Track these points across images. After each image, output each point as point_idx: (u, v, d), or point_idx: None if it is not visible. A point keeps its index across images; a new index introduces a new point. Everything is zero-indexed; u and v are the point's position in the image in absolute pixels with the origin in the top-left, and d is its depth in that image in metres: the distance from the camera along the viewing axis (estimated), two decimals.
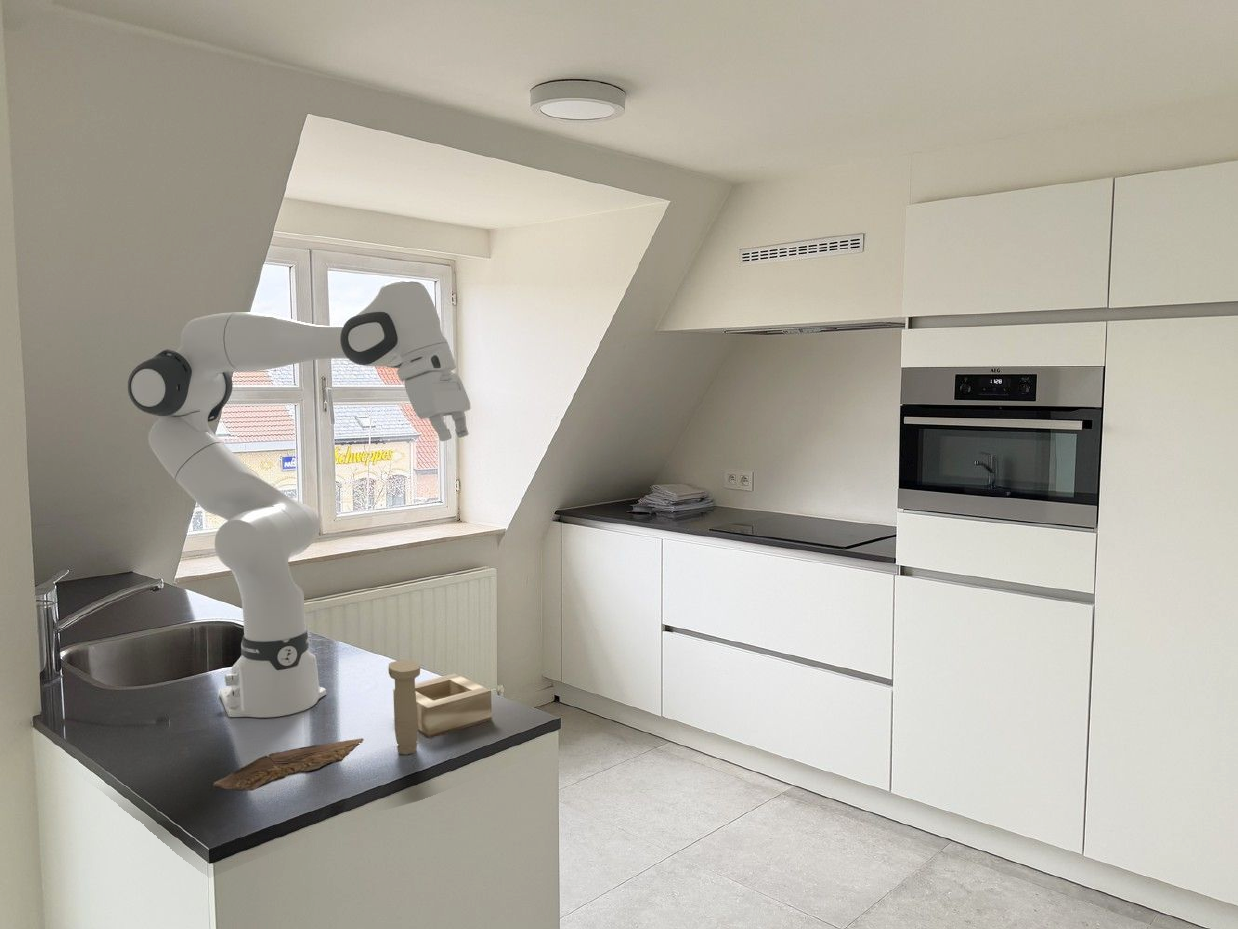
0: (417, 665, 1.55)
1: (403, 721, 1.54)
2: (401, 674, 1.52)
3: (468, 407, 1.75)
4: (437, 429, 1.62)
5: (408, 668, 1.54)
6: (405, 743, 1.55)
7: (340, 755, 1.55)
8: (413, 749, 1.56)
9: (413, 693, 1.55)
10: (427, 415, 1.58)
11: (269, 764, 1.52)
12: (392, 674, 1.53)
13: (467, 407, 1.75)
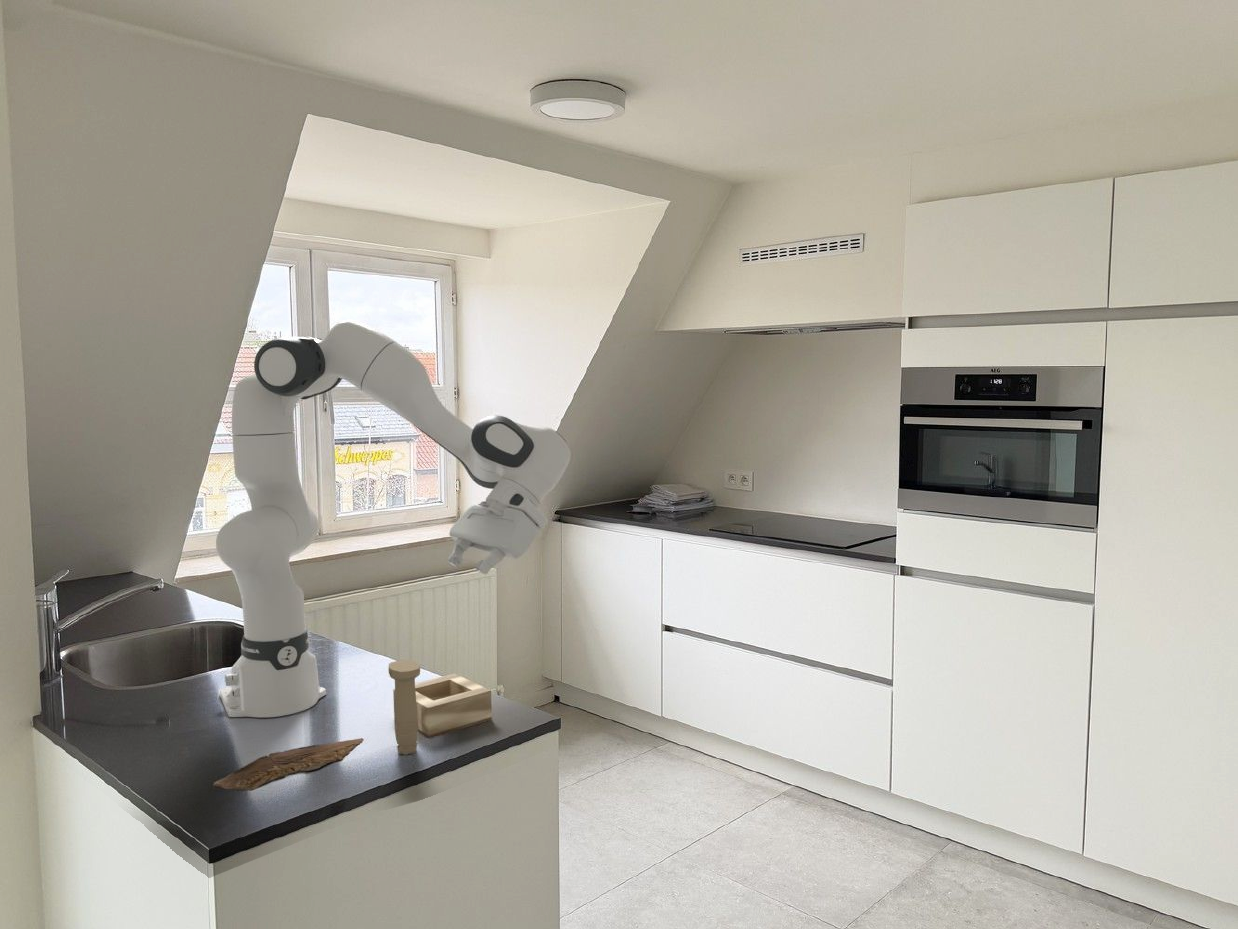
0: (417, 665, 1.55)
1: (404, 721, 1.54)
2: (401, 674, 1.52)
3: None
4: (489, 560, 1.58)
5: (408, 668, 1.54)
6: (405, 743, 1.55)
7: (340, 755, 1.55)
8: (413, 749, 1.56)
9: (413, 693, 1.55)
10: (512, 553, 1.56)
11: (269, 764, 1.52)
12: (392, 674, 1.53)
13: None
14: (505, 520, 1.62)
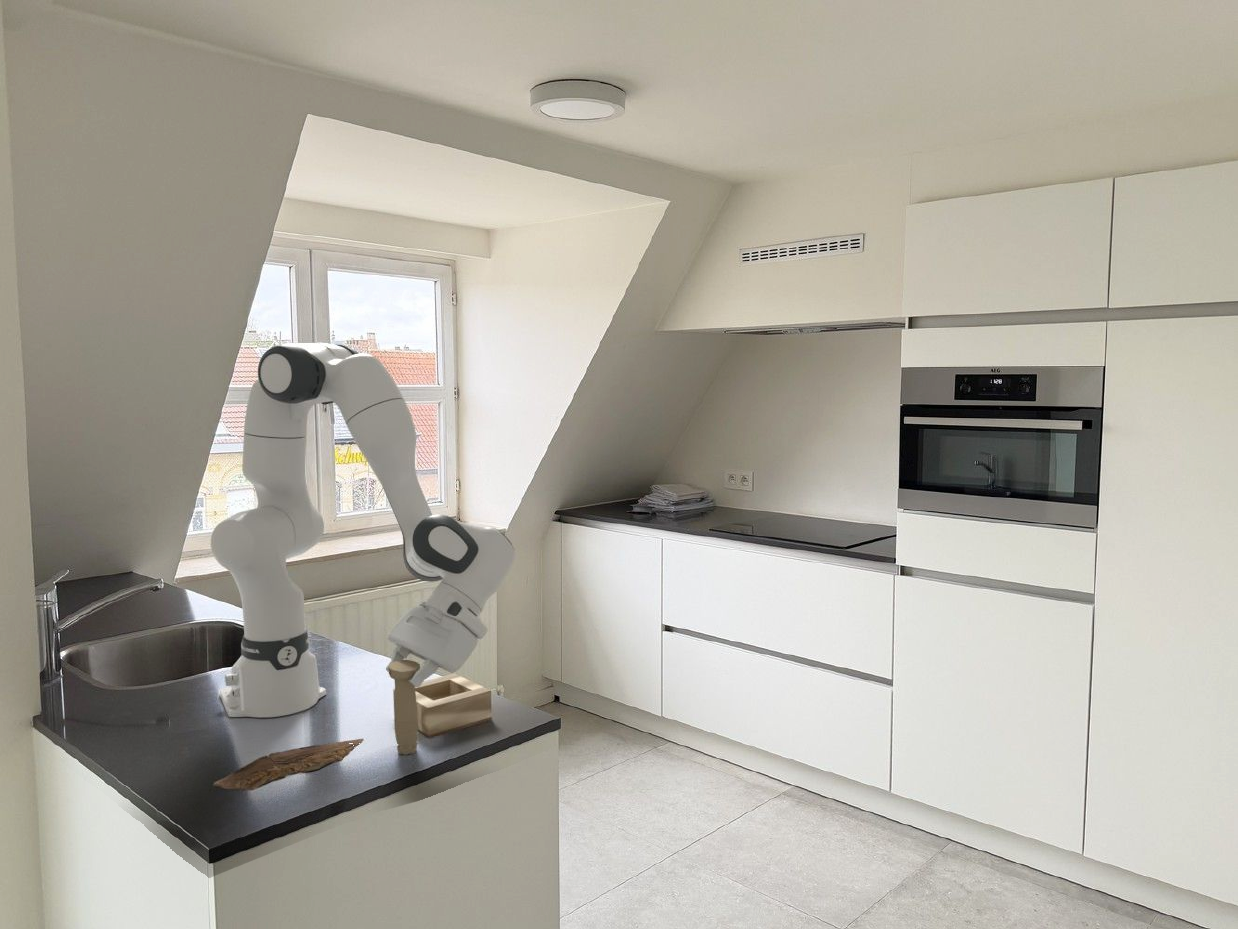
0: (417, 665, 1.55)
1: (403, 721, 1.54)
2: (401, 674, 1.52)
3: None
4: (421, 672, 1.52)
5: (408, 668, 1.54)
6: (405, 743, 1.55)
7: (340, 756, 1.55)
8: (413, 749, 1.56)
9: (413, 693, 1.55)
10: (447, 667, 1.50)
11: (269, 764, 1.52)
12: (392, 674, 1.53)
13: None
14: (443, 629, 1.55)
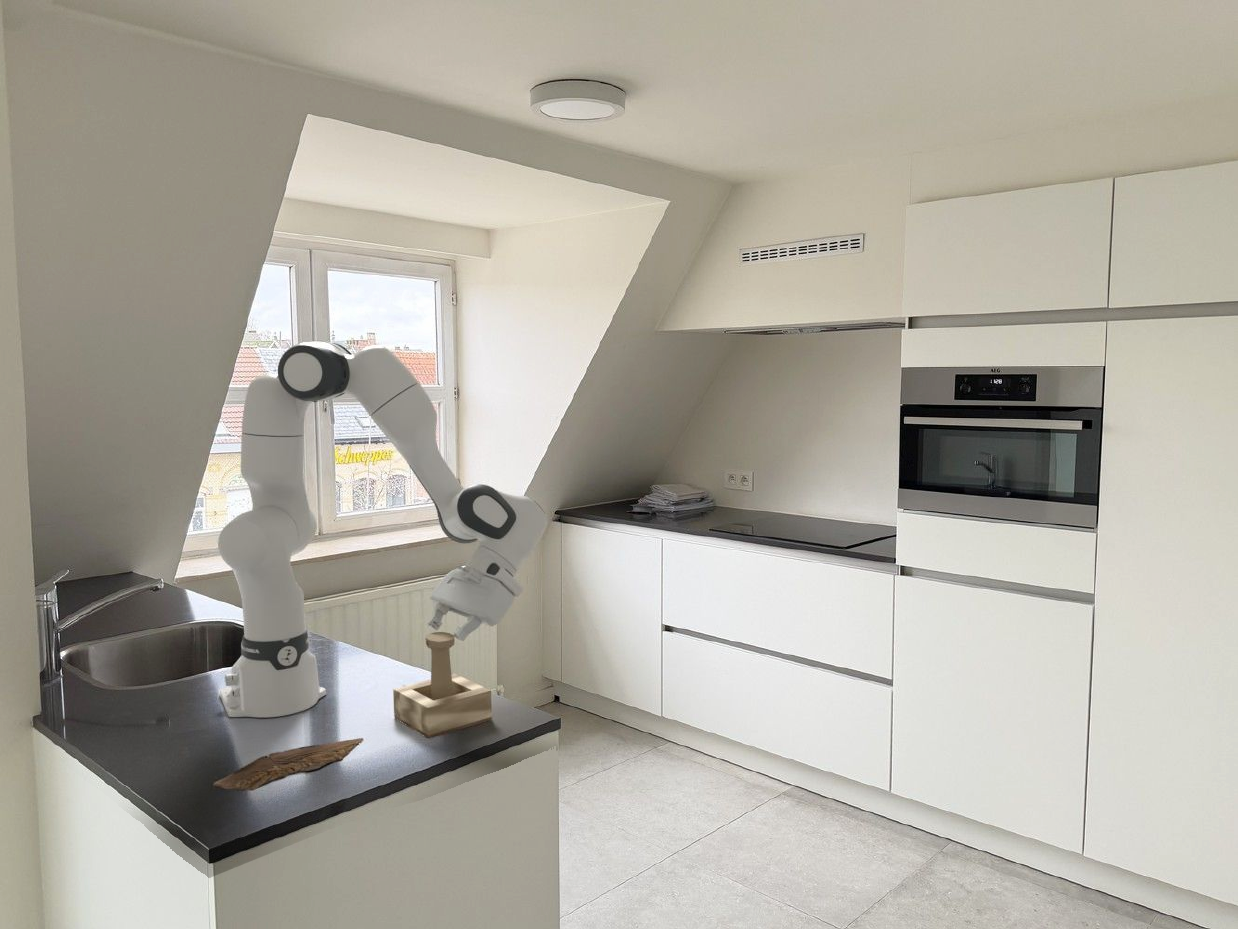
0: (451, 636, 1.70)
1: (440, 687, 1.69)
2: (438, 644, 1.67)
3: None
4: (466, 627, 1.66)
5: (444, 638, 1.68)
6: None
7: (339, 755, 1.55)
8: None
9: (448, 661, 1.69)
10: (488, 621, 1.65)
11: (269, 764, 1.52)
12: (429, 644, 1.68)
13: None
14: (482, 588, 1.70)
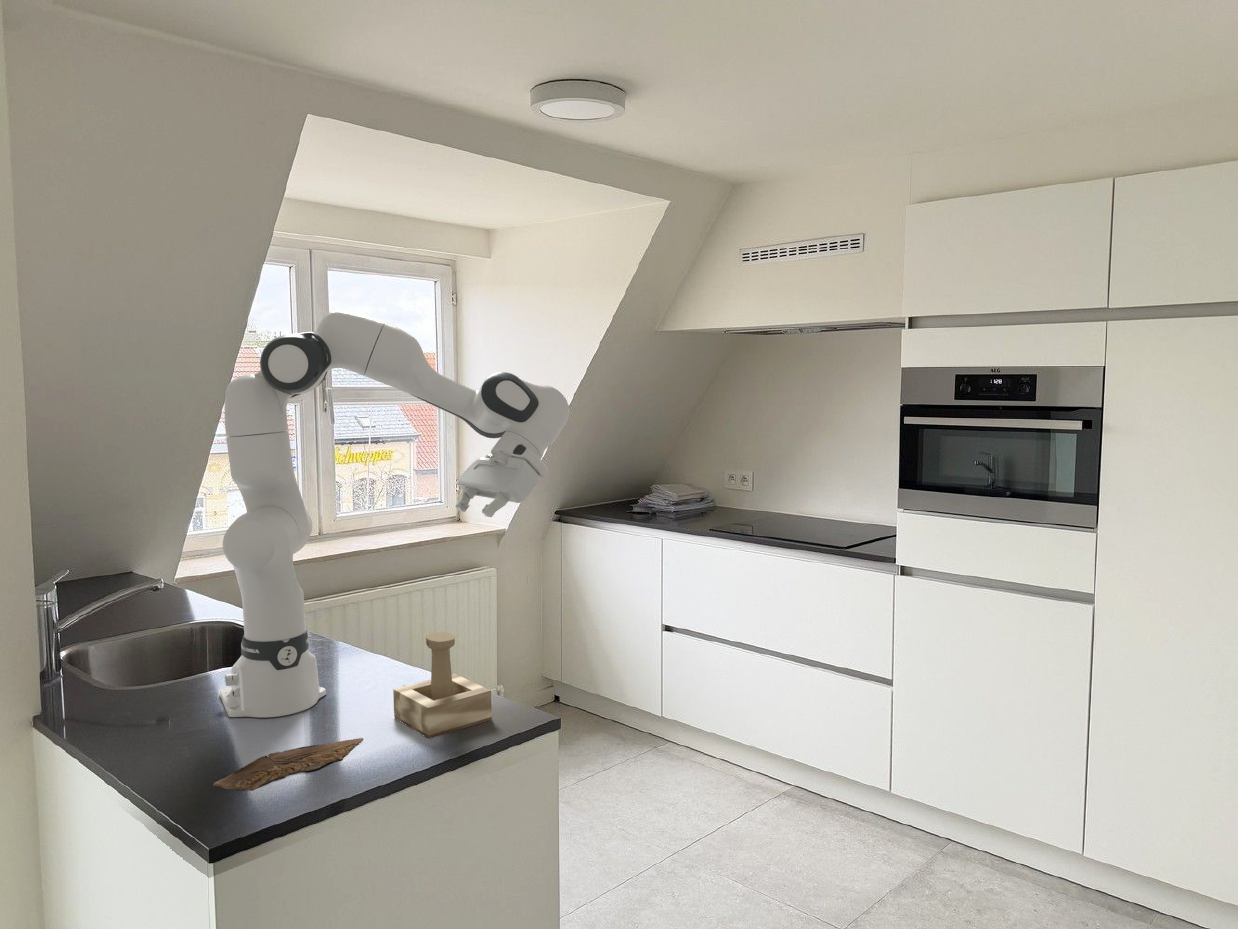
0: (452, 636, 1.70)
1: (440, 687, 1.69)
2: (438, 644, 1.67)
3: None
4: (494, 504, 1.72)
5: (444, 638, 1.68)
6: None
7: (339, 755, 1.55)
8: None
9: (448, 662, 1.69)
10: (515, 497, 1.70)
11: (269, 764, 1.52)
12: (429, 644, 1.68)
13: None
14: (509, 468, 1.76)
